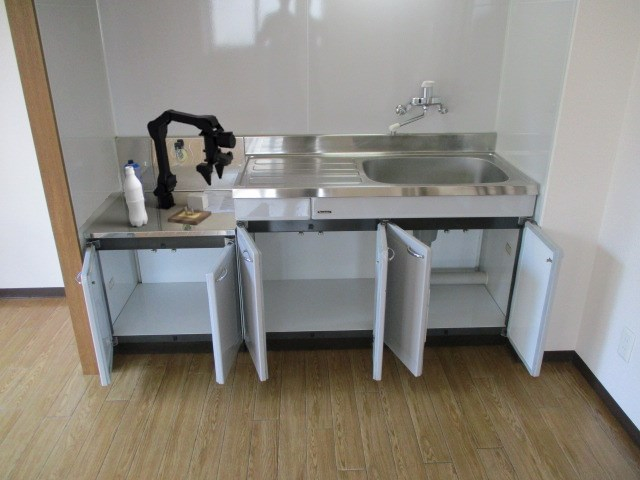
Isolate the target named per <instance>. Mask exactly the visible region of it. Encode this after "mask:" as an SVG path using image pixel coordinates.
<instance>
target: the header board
mask: <svg viewBox="0 0 640 480" xmlns="http://www.w3.org/2000/svg"><path fill="white" fill-rule="evenodd" d="M211 215H212V211H211V210H199V209H193V207H191V209H190V208H188V206H186V205H185V206H184V207H182V208H181V209H179V210H178V211H176V212H175V213H174V214H172V215H171V216H169V217H168V218H167V222H168V223H169V222H170V223H175V224H176V223H178V224H183V225H185V224H186V225H193V226H198V225H199V224H201V223H202V222H203V221H204V220H206V219H208V218H209V217H210V216H211Z"/></svg>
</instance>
